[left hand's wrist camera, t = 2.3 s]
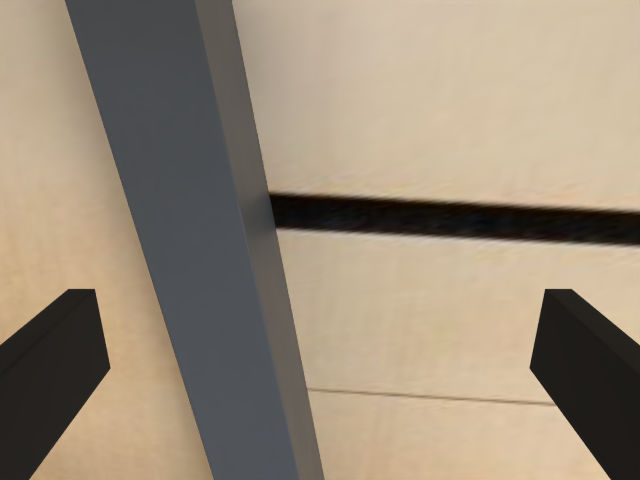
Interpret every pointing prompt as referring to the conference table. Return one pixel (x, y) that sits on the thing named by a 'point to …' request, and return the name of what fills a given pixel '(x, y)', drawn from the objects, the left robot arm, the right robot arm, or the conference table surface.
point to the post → (204, 223)
